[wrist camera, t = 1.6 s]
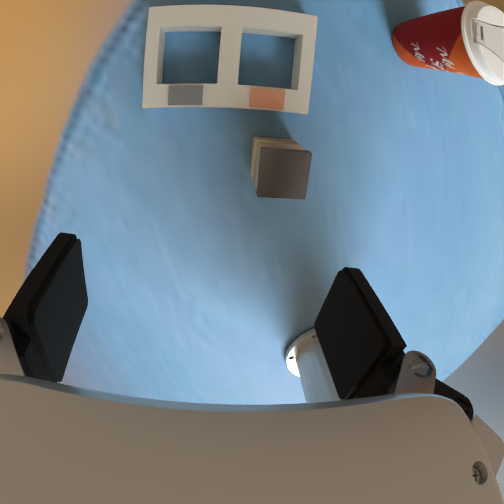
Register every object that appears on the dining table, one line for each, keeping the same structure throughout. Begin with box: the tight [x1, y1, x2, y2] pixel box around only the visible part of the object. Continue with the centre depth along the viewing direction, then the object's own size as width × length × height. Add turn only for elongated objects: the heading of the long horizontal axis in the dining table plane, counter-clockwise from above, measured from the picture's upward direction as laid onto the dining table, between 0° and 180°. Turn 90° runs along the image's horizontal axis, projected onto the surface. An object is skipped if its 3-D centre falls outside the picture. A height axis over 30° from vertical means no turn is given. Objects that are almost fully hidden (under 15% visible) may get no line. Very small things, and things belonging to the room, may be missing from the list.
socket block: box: [143, 5, 318, 115], centre depth 23 cm, size 15×10×3 cm, turn 85°
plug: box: [250, 136, 312, 199], centre depth 27 cm, size 4×4×7 cm
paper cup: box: [392, 1, 504, 85], centre depth 18 cm, size 8×8×14 cm
